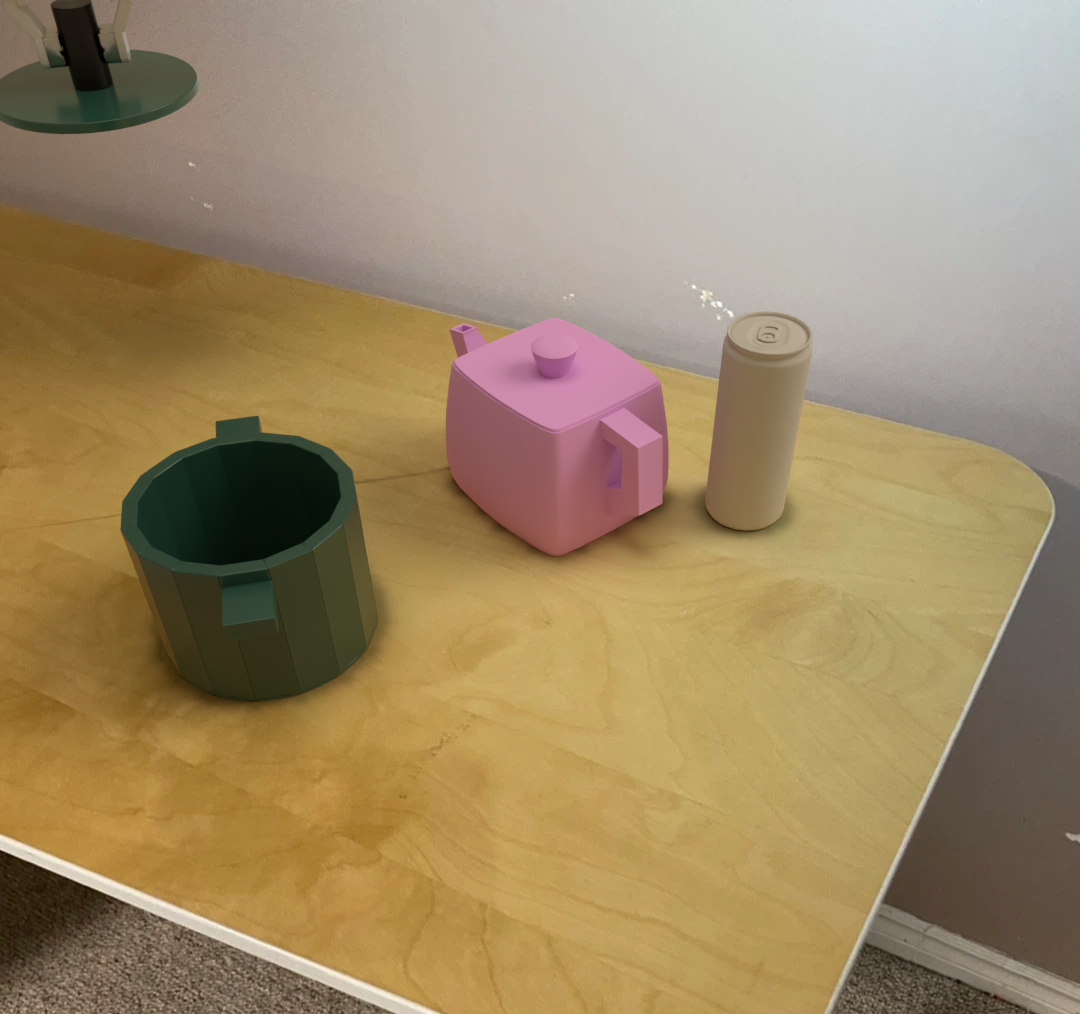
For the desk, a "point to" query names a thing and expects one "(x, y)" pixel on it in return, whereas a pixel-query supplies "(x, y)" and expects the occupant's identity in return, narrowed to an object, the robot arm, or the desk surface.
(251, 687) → the pot
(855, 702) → the desk surface
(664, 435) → the teapot
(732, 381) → the beverage can
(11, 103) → the lid
